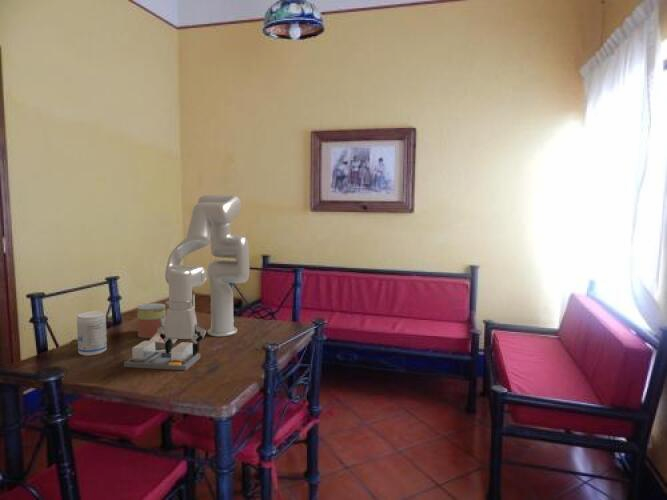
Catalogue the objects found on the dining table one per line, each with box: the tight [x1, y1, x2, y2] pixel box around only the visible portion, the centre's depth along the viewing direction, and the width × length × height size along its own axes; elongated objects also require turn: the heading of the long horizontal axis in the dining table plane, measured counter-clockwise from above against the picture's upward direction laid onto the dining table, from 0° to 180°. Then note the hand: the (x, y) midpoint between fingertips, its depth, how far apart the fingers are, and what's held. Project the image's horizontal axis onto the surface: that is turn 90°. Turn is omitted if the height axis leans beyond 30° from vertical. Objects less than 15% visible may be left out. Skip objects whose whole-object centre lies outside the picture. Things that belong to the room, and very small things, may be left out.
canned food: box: [136, 302, 166, 339], centre depth 191 cm, size 11×11×12 cm
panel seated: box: [131, 340, 156, 362], centre depth 157 cm, size 8×4×6 cm, turn 173°
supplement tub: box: [76, 310, 108, 357], centre depth 168 cm, size 10×10×15 cm
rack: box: [123, 350, 201, 371], centre depth 157 cm, size 12×22×3 cm, turn 83°
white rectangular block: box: [171, 341, 194, 365], centre depth 156 cm, size 8×4×6 cm, turn 172°
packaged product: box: [148, 330, 178, 352], centre depth 176 cm, size 18×5×10 cm
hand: (182, 352), depth 156 cm, fingers open, 9 cm apart
